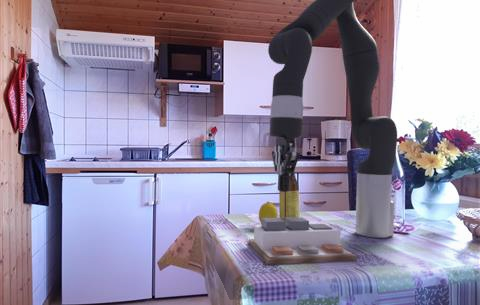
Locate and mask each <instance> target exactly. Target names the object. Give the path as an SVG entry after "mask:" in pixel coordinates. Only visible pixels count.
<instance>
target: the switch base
mask: <svg viewBox="0 0 480 305" xmlns="http://www.w3.org/2000/svg"><path fill="white" fill-rule="evenodd" d="M248 244H249V245H250V247H251V248H252V249H253V250H254V251H255V252H256V253H257V255H258V256H259V257H260V258H261V259H262V261H263V262H264V263H265V264H266V265H268V266H269V265H284V264H286V265H288V264H307V263H326V262H327V263H328V262H350V261H352V262H353V261H357V259H358V258H357V257H358V256H357V255H356V254H354V253H353V252H351V251H349V250H348V249H346V248H344V247H342V246H341V245H340V246H339V245H337V244H331V245H322V248H320V249H317V248H316V247H315V246H313V245H303V246H297V249H294V250H292V249H291V248H290V247H288V246H275V247H272V250H268V251H262V250H261V249H260V247H259V246H258V245H257V244H256V243H255V242H254V238H252V239H251V238H249V239H248Z"/></svg>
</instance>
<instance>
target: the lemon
mask: <svg viewBox="0 0 480 305" xmlns="http://www.w3.org/2000/svg"><path fill="white" fill-rule="evenodd" d="M262 218H279V217H278V209H277V207H276V205H275V204H274V203H271V202H270V201H266V202H265V203H263V204H262V205H261V206H260V208H259V211H258V220H259V222H260V223H261V221H262Z"/></svg>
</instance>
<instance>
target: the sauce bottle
mask: <svg viewBox="0 0 480 305" xmlns="http://www.w3.org/2000/svg"><path fill="white" fill-rule="evenodd" d="M284 162H285V161H284ZM295 171H296V170H294V173H291V175H290V176H289V190H288V192H281V191H278V193H279V194H278V195H279V196H278V197H279V198H278V199H279V204H278V205H279V206H278V207H279V217H278V218H280V219H282V220H284V221H285V218H293V217H300V190H299V189H300V188H299V182H298V180H297V177H296V172H295Z"/></svg>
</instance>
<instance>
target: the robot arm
mask: <svg viewBox="0 0 480 305" xmlns="http://www.w3.org/2000/svg"><path fill="white" fill-rule="evenodd" d="M355 1H356V0H314V1H313V2H312V3H310V4H309V5H308V6H307V7H306V8H305V9H304V11H302V13H301V14H299V15H298V17H297V18H296V19H294V20H293V21H292V22H290V23H289V24H288V25H287V26H285V27H284V28H282V29H280V30H279V31H278V32H277V33H276V34H275V35H274V36H273V37H272V38H271V39H270V42H269V44H268V50H267V51H268V55H269V58H270V60H271V61H272V62H273V63H275V64H277V65H283V68H282V69H281V70H280V71H278V72H276V73H275V75H274V76H273V80H272V81H273V82H272V97H271V104H270V113H269V114H270V115H269V116H270V117H269V119H270V120H269V137H271V138H276V141H275V145H274V150H272V151H271V158H272V162H273V167H274V171H275V173H276V174H277V175H278V176H277V177H278V178H277V190H278V192H279V191H281V192H288V190H289V176H290V175H291V173H294V170H295V169H296V168H297V167H296V166H297V164H298V162H299V158H300V154H301V153H300V151H297V147H296V139H301V138H302V137H303V120H304V119H303V117H304V116H303V115H304V104H303V103H304V102H303V101H304V100H303V96H304V94H303V92H304V80H305V76H306V73H307V72H308V71H307V70H308V67H309V63H310V60H311V56H312V52H313V42H314V41H316V40H317V39H319V37H320V36H322V34H323V33H324V32H325V31H326V30H327V29H328V27H330V26H331V24H332V23H333V22H334V21H335V20H336V24H337V29H338V34H339V40H340V46H341V51H342V52H341V53H342V60H343V66H344V67H343V68H344V72H345V77H346V84H347V91H348V99H349V105H350V106H349V107H350V122H351V123H350V126H351V134H352V140H353V142H354V144H355V146H357V148H360V149H361V150H368V151H369V154H368V156H367V157H366V159H364V160H362V161H360V162H358V163H357V167H356V168H357V173H356V203H355V233H356V234H358V235H359V236H363V237H367V238H375V239H377V238H381V239H383V238H384V239H385V238H389V237H394V229H395V228H394V226H395V225H394V224H395V222H394V220H395V202H394V201H393V200H392V184H393V183H392V179H393V168H394V166H395V164H396V156H397V146H398V145H397V144H398V129H397V125H396V123H395V121H394V120H393V119H392V118H390V117H388V116H374V115H373V109H372V98H373V92H374V90H375V86H376V84H377V81H378V79H379V78H378V77H379V75H380V68H381V66H380V65H381V64H380V58H379V51H378V45H377V42H376V41H375V39H374V38H373V36H372V35H371V34H370V33H369V32H368V31H367V30H366V29H365V27H364V26H363V25H362V24H361V23H360V22H359V20H358V17H357V15H356V11H355V7H354V2H355ZM284 161H285V162H284ZM295 171H296V170H295Z"/></svg>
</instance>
